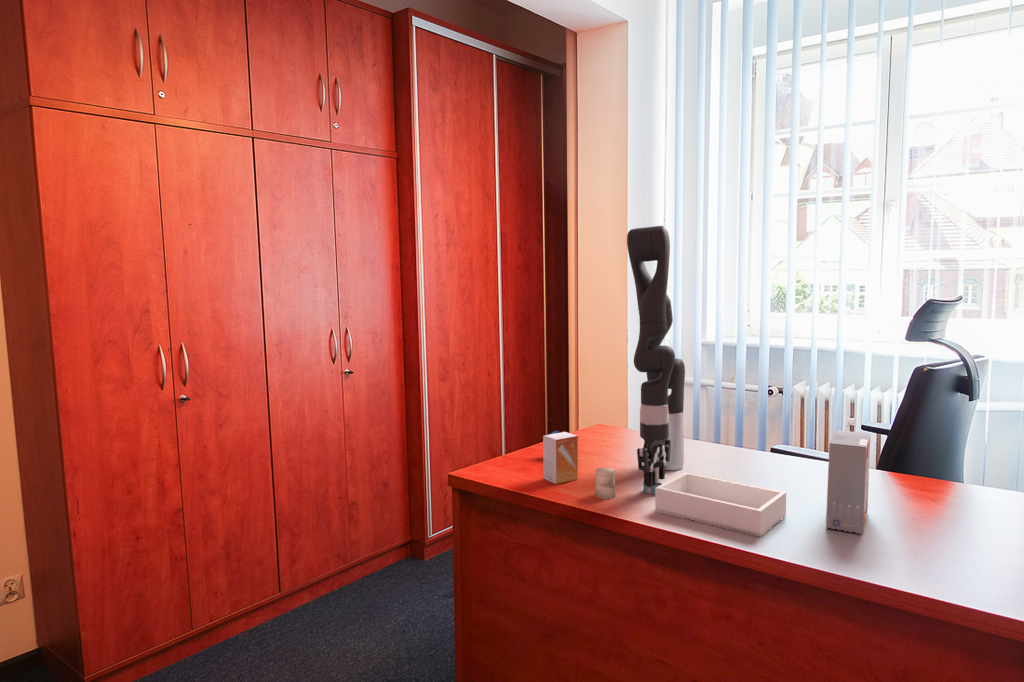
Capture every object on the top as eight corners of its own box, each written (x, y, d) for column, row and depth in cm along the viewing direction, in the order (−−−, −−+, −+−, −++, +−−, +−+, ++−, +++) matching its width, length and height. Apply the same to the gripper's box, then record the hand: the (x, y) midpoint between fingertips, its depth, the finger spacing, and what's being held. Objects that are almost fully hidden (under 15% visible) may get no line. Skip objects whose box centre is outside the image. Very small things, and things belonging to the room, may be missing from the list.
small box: (556, 484, 182) (555, 439, 181) (543, 479, 188) (542, 435, 187) (578, 479, 187) (578, 435, 186) (565, 474, 192) (564, 431, 191)
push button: (670, 493, 173) (670, 456, 172) (659, 498, 170) (659, 461, 169) (649, 487, 178) (649, 452, 177) (638, 492, 174) (638, 456, 173)
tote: (685, 494, 172) (685, 472, 172) (785, 516, 155) (786, 492, 154) (655, 511, 160) (655, 487, 160) (760, 537, 143) (760, 511, 142)
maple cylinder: (602, 491, 176) (602, 466, 175) (618, 495, 173) (618, 469, 172) (592, 496, 172) (592, 470, 172) (608, 500, 169) (608, 474, 168)
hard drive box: (863, 535, 143) (866, 447, 141) (825, 529, 147) (827, 443, 145) (868, 513, 156) (870, 432, 154) (833, 508, 160) (835, 428, 158)
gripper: (655, 414, 180) (655, 473, 181) (627, 423, 169) (627, 485, 171) (680, 417, 175) (679, 478, 176) (653, 427, 164) (653, 491, 166)
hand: (654, 481), depth 174 cm, fingers open, 6 cm apart
